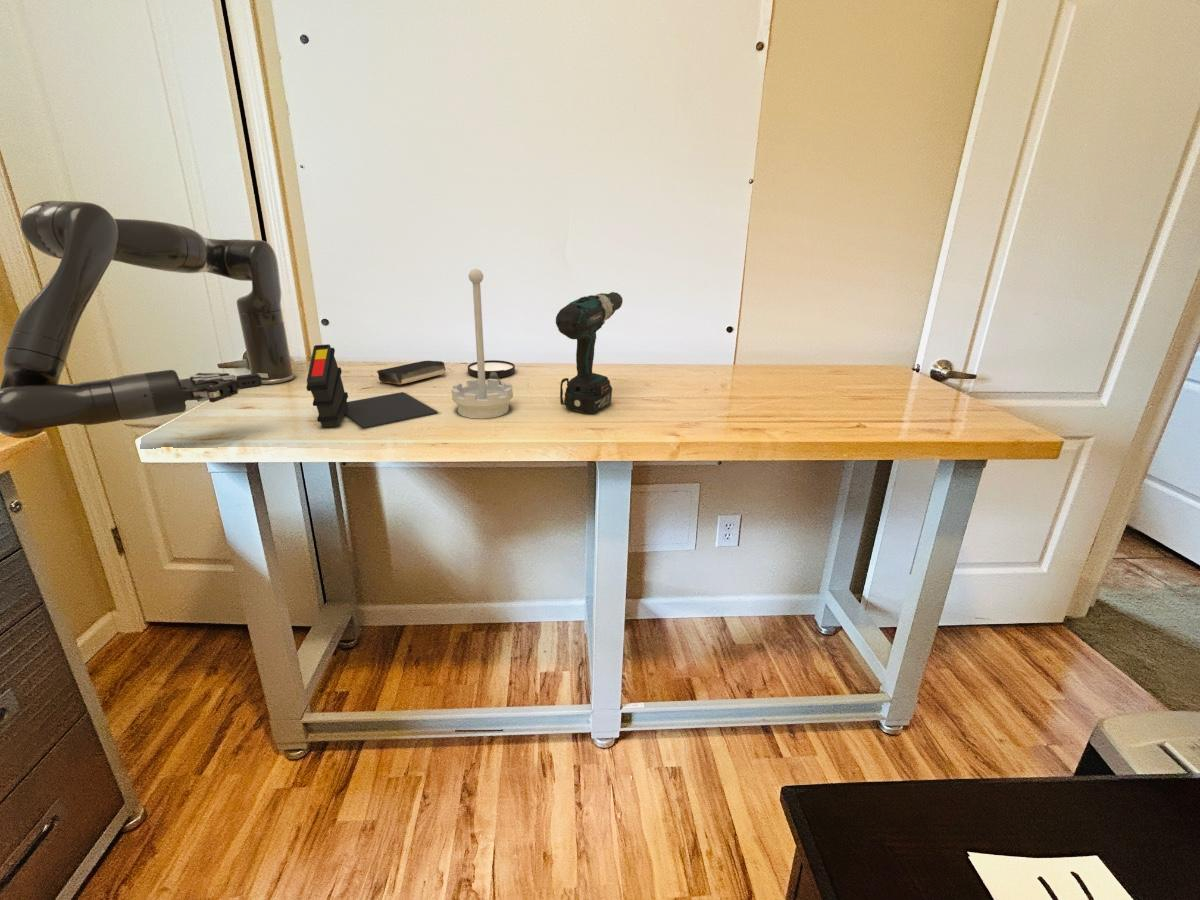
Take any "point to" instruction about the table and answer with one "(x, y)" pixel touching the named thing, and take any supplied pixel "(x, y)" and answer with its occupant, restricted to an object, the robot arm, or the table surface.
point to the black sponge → (411, 372)
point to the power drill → (586, 350)
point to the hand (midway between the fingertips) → (260, 379)
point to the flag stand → (481, 374)
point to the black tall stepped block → (327, 386)
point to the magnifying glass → (493, 369)
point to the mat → (386, 409)
